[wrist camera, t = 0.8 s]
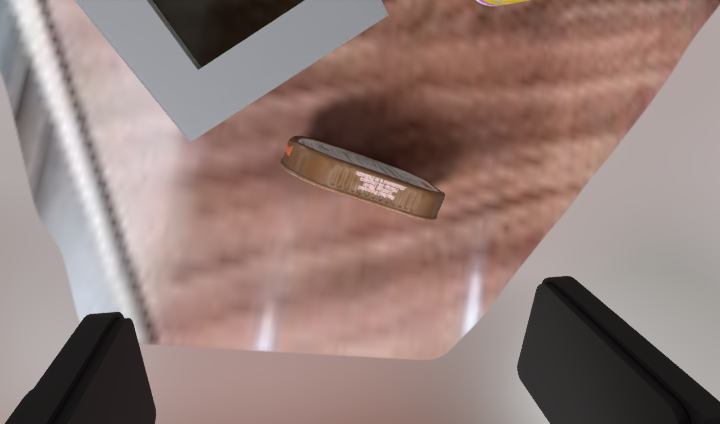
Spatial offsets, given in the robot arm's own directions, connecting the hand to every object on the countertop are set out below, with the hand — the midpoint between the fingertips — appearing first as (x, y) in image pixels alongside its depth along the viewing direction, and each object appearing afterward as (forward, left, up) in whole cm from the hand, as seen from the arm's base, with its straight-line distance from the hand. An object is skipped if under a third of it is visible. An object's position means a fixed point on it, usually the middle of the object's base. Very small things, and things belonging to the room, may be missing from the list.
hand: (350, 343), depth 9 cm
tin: (-2, +7, -30) cm, 31 cm away
